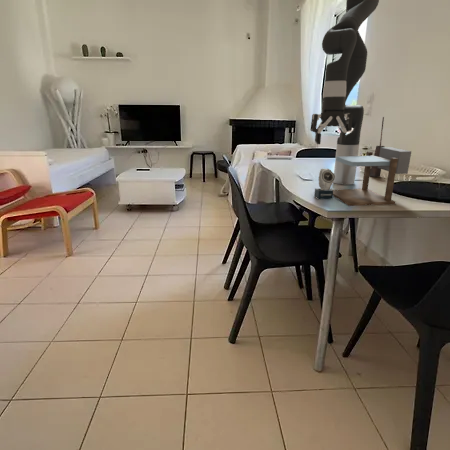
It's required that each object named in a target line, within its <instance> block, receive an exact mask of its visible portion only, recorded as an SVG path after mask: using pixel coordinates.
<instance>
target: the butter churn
mask: <svg viewBox="0 0 450 450" xmlns="http://www.w3.org/2000/svg"><path fill="white" fill-rule="evenodd" d="M384 119H385V116H382V122H381V131H380V140H379V145H376V147H375V150H374V152H373V156H377V157H379V154H380V148H381V147H386V146H385V145H382V140H383V137H382V136H383V129H384V121H385V120H384ZM381 173H382V169H380V168H378V166H371V169H370V176H369V177H373V178H378V177H381Z"/></svg>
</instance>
